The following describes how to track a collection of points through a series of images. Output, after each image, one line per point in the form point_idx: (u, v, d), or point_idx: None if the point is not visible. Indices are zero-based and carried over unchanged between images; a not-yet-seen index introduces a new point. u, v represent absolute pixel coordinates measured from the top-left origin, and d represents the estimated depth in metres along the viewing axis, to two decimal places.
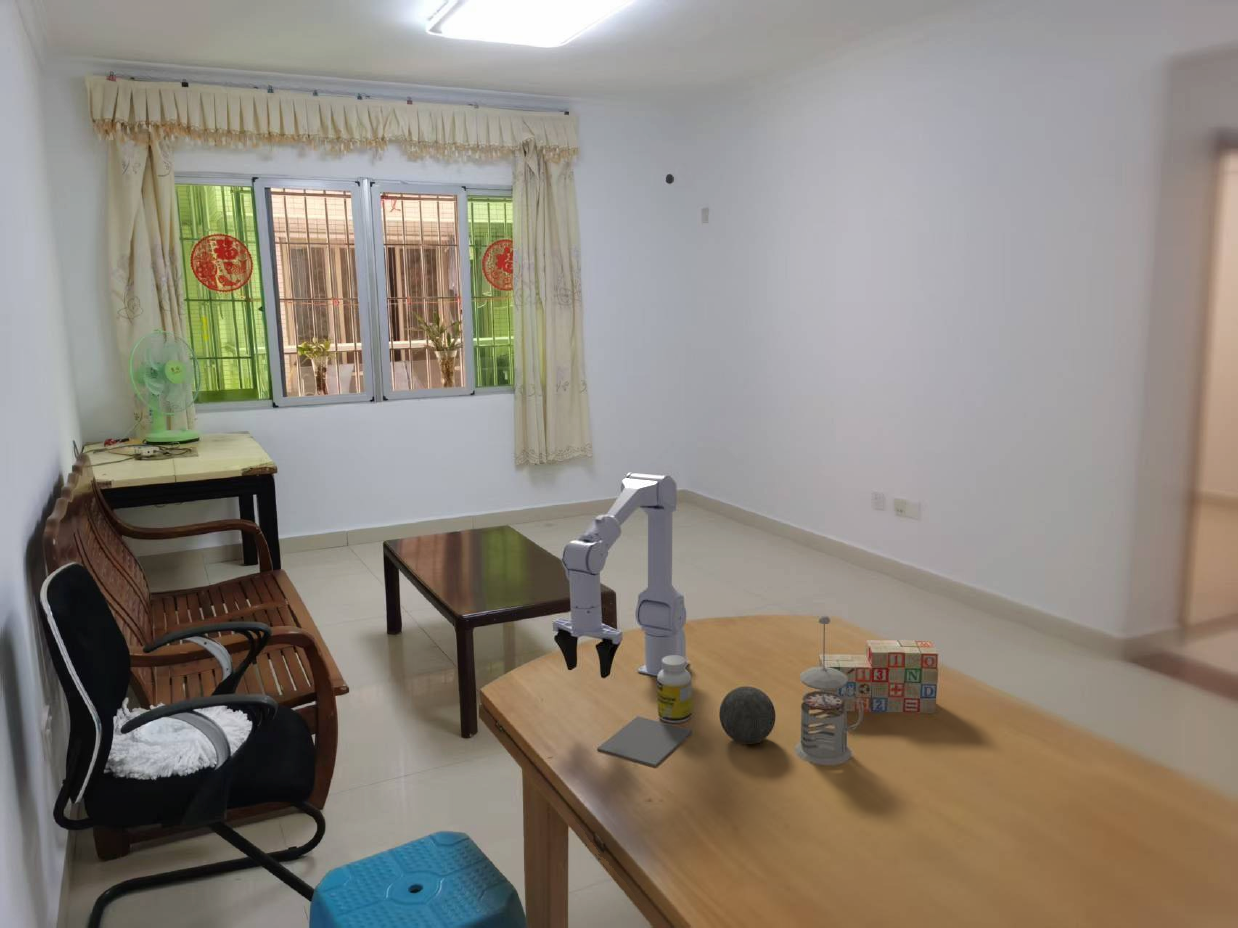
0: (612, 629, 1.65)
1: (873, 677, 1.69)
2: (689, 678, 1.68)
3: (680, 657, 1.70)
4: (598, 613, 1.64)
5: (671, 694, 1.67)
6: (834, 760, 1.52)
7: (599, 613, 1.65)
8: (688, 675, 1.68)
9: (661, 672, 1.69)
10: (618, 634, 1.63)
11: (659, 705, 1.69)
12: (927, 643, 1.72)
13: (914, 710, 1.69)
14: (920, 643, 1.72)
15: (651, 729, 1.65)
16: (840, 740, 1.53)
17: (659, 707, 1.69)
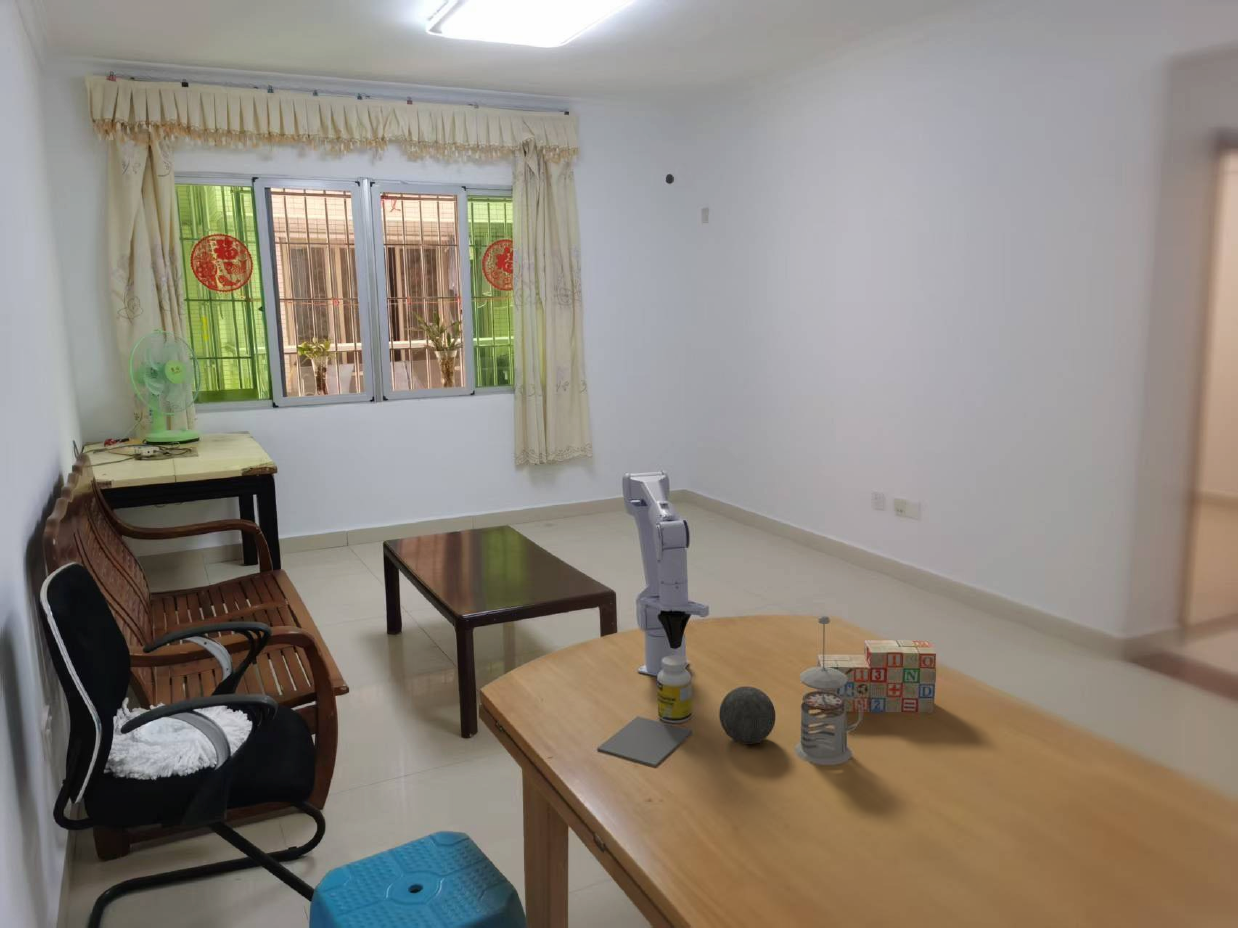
0: (698, 604, 1.75)
1: (871, 677, 1.69)
2: (689, 678, 1.68)
3: (680, 657, 1.70)
4: (685, 588, 1.75)
5: (671, 694, 1.67)
6: (834, 760, 1.52)
7: (686, 589, 1.75)
8: (688, 675, 1.68)
9: (661, 672, 1.69)
10: (705, 608, 1.72)
11: (659, 705, 1.69)
12: (925, 643, 1.72)
13: (912, 710, 1.69)
14: (918, 643, 1.72)
15: (651, 729, 1.65)
16: (840, 740, 1.53)
17: (659, 707, 1.69)
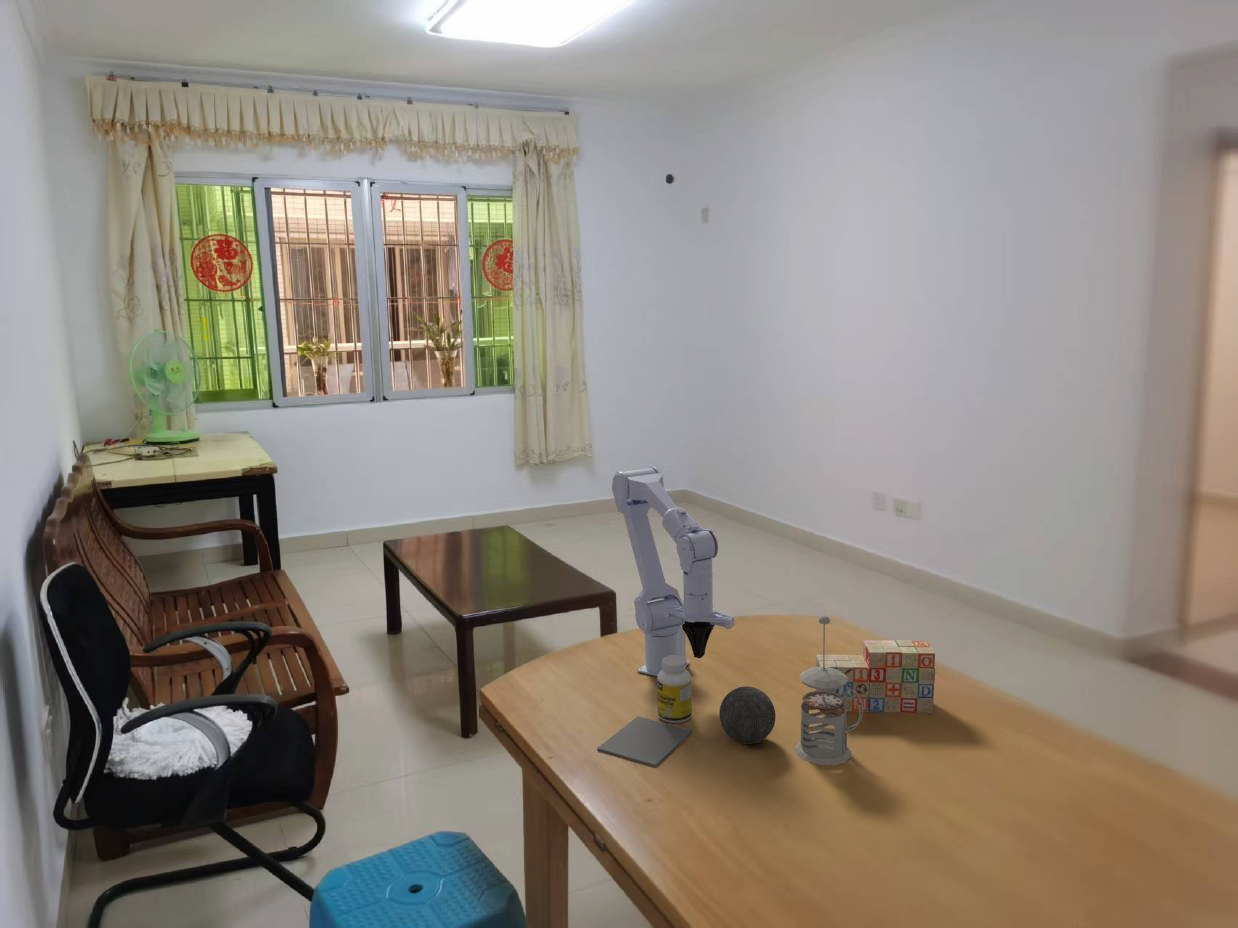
0: (723, 615, 1.75)
1: (870, 677, 1.69)
2: (689, 678, 1.68)
3: (680, 657, 1.70)
4: (710, 599, 1.74)
5: (671, 694, 1.67)
6: (834, 760, 1.52)
7: (711, 600, 1.75)
8: (688, 675, 1.68)
9: (661, 672, 1.69)
10: (731, 620, 1.72)
11: (659, 705, 1.69)
12: (924, 643, 1.72)
13: (911, 710, 1.69)
14: (917, 643, 1.72)
15: (651, 729, 1.65)
16: (840, 740, 1.53)
17: (659, 707, 1.69)
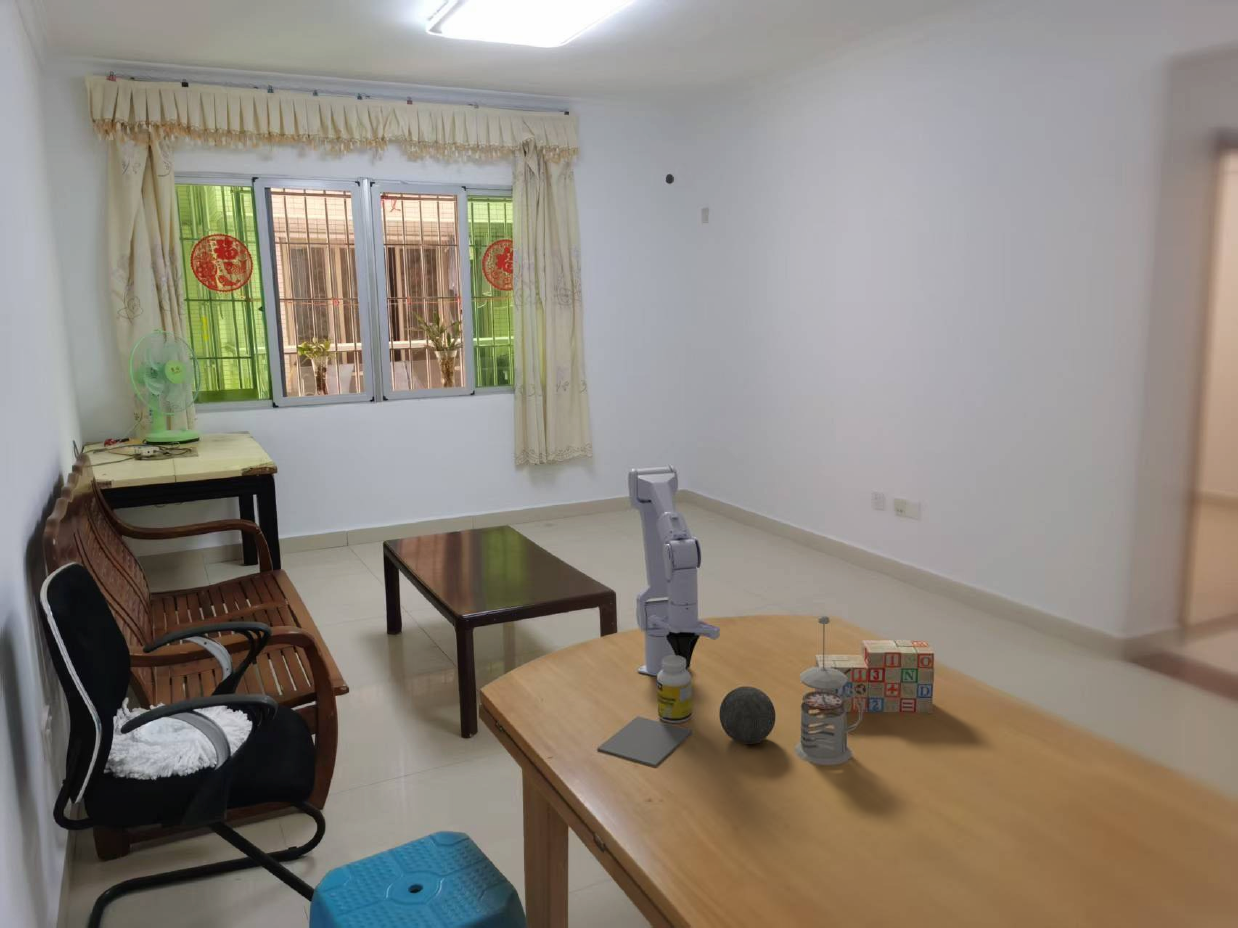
0: (709, 625, 1.69)
1: (869, 677, 1.69)
2: (689, 678, 1.68)
3: (680, 657, 1.70)
4: (695, 609, 1.69)
5: (671, 694, 1.67)
6: (834, 760, 1.52)
7: (696, 610, 1.69)
8: (688, 675, 1.68)
9: (661, 672, 1.69)
10: (716, 630, 1.67)
11: (659, 705, 1.69)
12: (923, 643, 1.72)
13: (910, 710, 1.69)
14: (916, 643, 1.72)
15: (651, 729, 1.65)
16: (840, 740, 1.53)
17: (659, 707, 1.69)
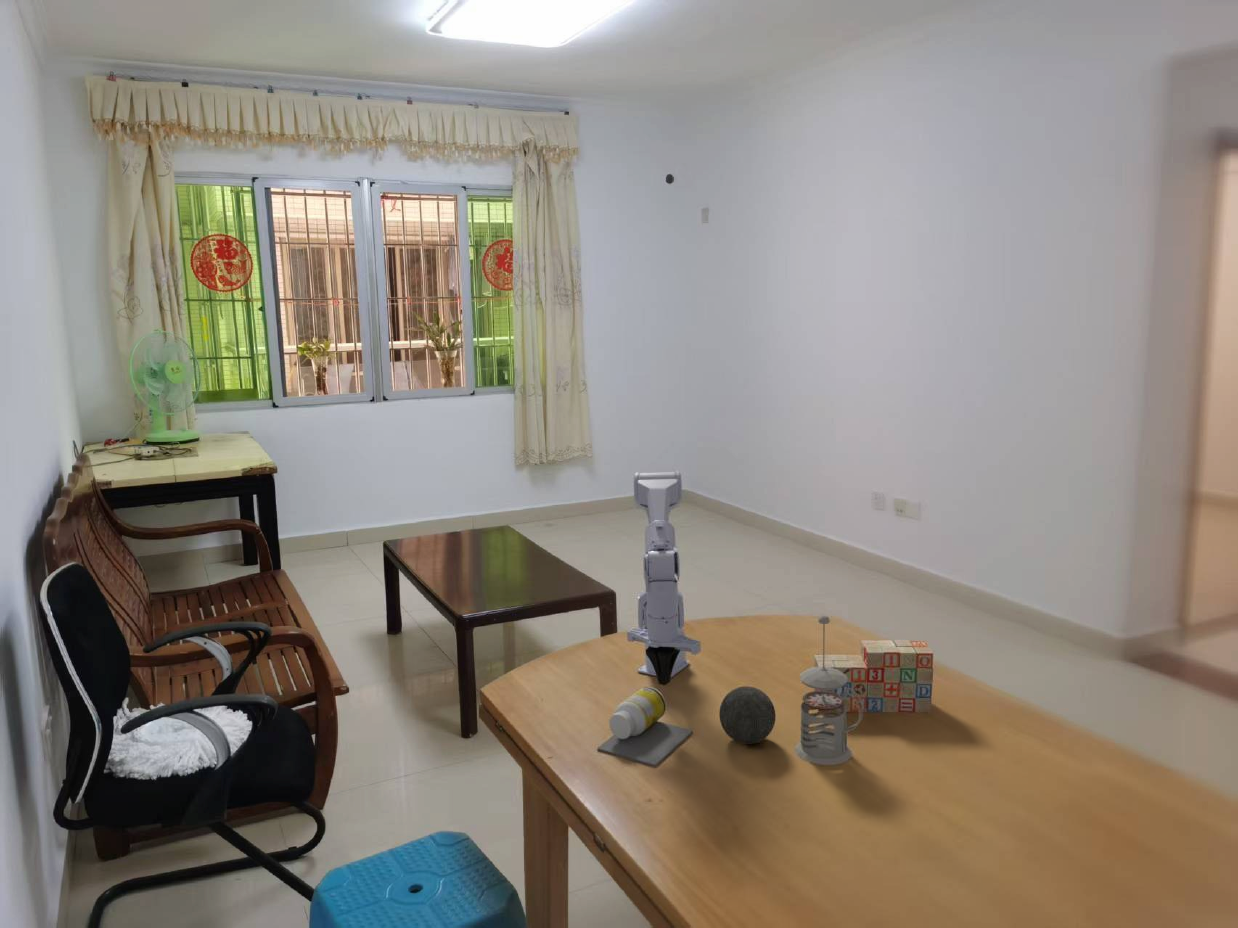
0: (689, 639, 1.63)
1: (868, 677, 1.69)
2: (636, 707, 1.61)
3: (615, 718, 1.60)
4: (675, 623, 1.62)
5: (650, 723, 1.63)
6: (834, 760, 1.52)
7: (676, 623, 1.63)
8: (633, 708, 1.61)
9: None
10: (697, 645, 1.61)
11: None
12: (922, 643, 1.72)
13: (909, 710, 1.70)
14: (915, 643, 1.72)
15: (651, 729, 1.65)
16: (840, 740, 1.53)
17: None
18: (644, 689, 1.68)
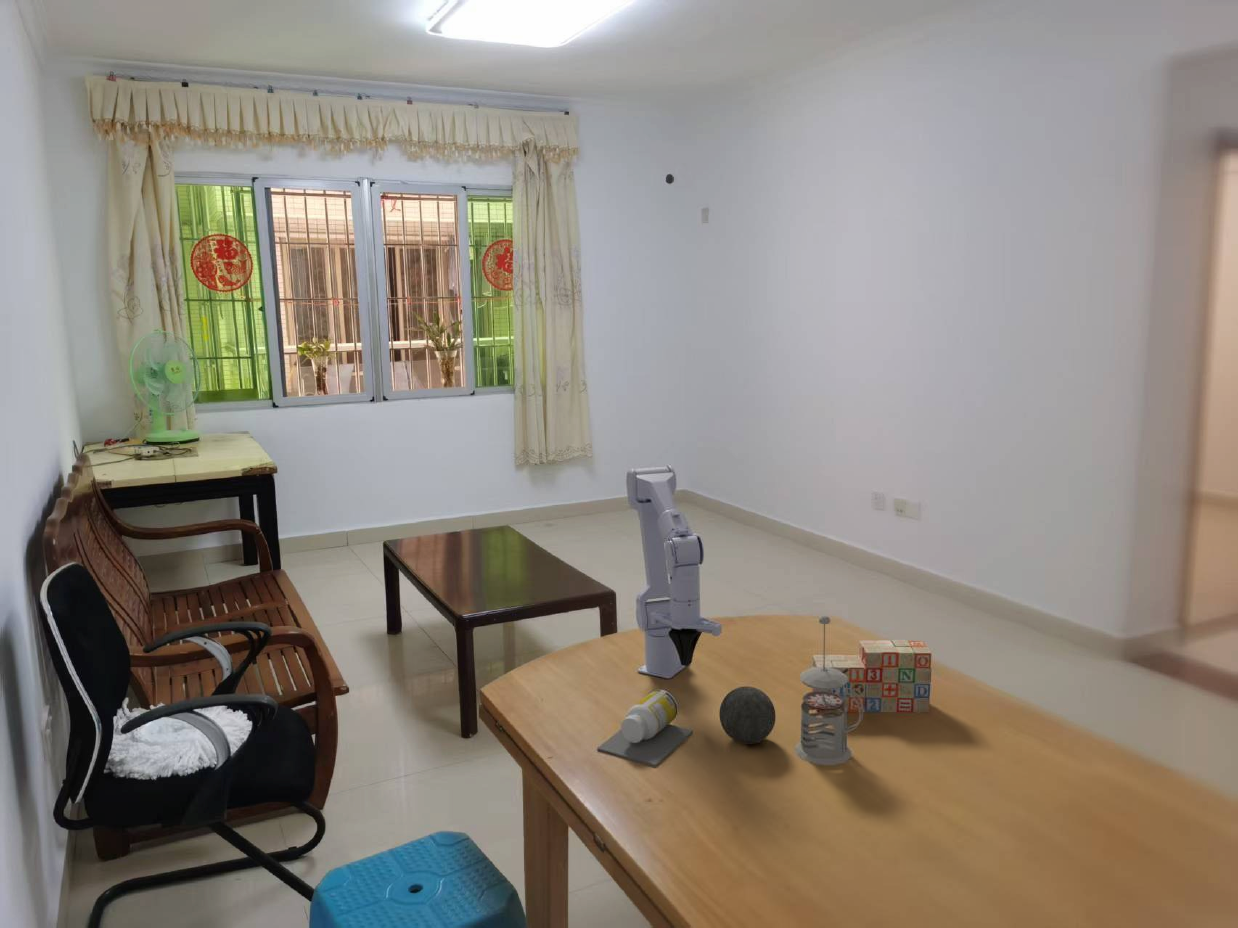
0: (711, 622, 1.70)
1: (867, 677, 1.69)
2: (655, 722, 1.59)
3: (633, 722, 1.58)
4: (697, 606, 1.70)
5: None
6: (834, 760, 1.52)
7: (698, 606, 1.70)
8: (652, 722, 1.59)
9: None
10: (718, 626, 1.68)
11: None
12: (920, 643, 1.72)
13: (908, 710, 1.70)
14: (913, 643, 1.72)
15: None
16: (840, 740, 1.53)
17: None
18: (667, 697, 1.65)
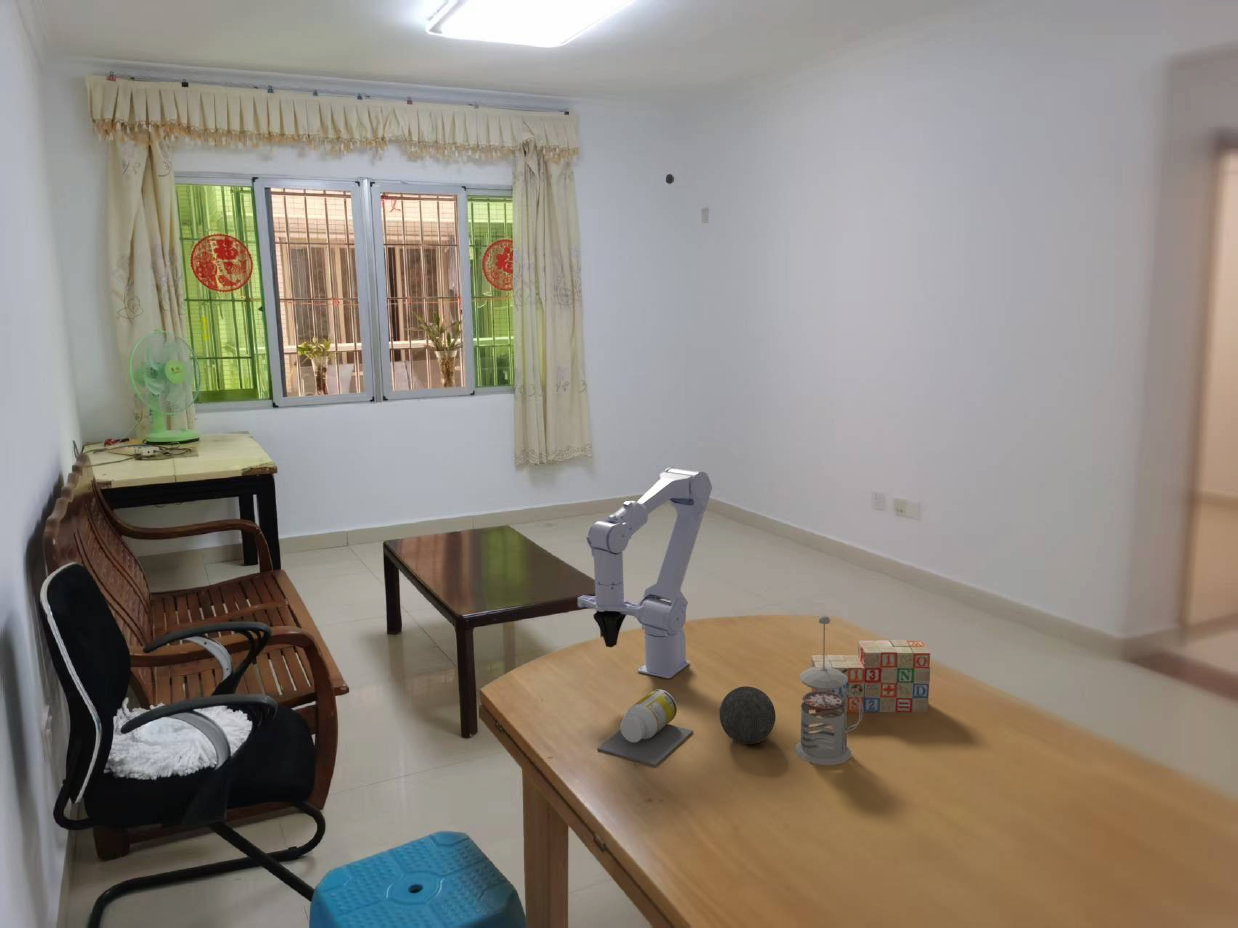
0: (634, 605, 1.77)
1: (865, 677, 1.69)
2: (654, 721, 1.60)
3: (631, 721, 1.58)
4: (620, 589, 1.76)
5: None
6: (834, 760, 1.52)
7: (621, 589, 1.77)
8: (651, 721, 1.59)
9: None
10: (639, 609, 1.74)
11: None
12: (919, 643, 1.72)
13: (906, 710, 1.70)
14: (912, 643, 1.72)
15: None
16: (840, 740, 1.53)
17: None
18: (665, 696, 1.65)
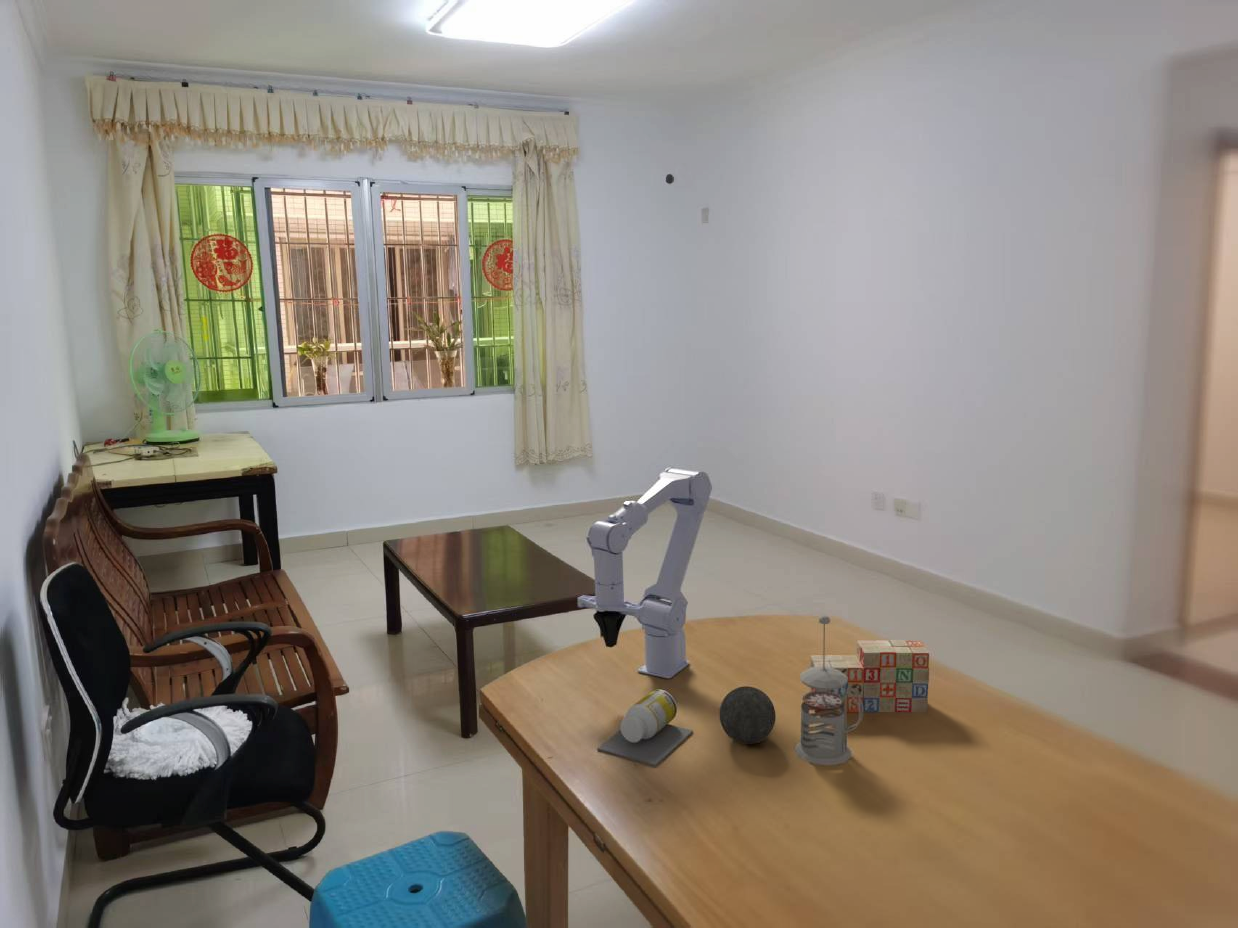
0: (634, 605, 1.77)
1: (865, 677, 1.69)
2: (654, 721, 1.60)
3: (631, 721, 1.58)
4: (620, 589, 1.76)
5: None
6: (834, 760, 1.52)
7: (621, 589, 1.77)
8: (651, 721, 1.59)
9: None
10: (639, 609, 1.74)
11: None
12: (918, 643, 1.72)
13: (906, 710, 1.70)
14: (911, 643, 1.72)
15: None
16: (840, 740, 1.53)
17: None
18: (665, 696, 1.65)
